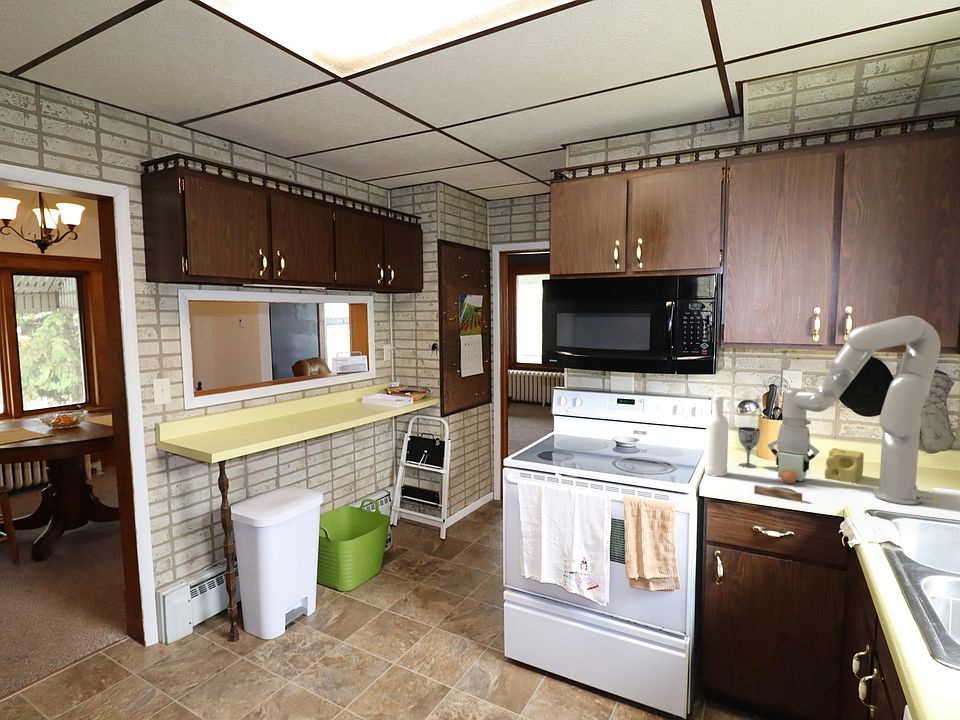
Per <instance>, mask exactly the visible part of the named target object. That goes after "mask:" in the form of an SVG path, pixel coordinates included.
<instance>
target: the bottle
mask: <svg viewBox="0 0 960 720" xmlns="http://www.w3.org/2000/svg"><path fill="white" fill-rule="evenodd" d="M705 427H706V428H705V452H704V453H705V458H704V459H705V460H704V473H705V474H706V475H708V474H710V475H709V476H711V475H715V476H714V477H718V476H721V477H725V475H726V476H727V475H728V450H729V449H728V447H729V422H728V419H727V417H726V416H725V415H724V396H723V395H719V394H718V395H713V396H712V414H711V415H709V416H708V417H707V419H706V425H705Z"/></svg>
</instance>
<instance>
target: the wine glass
mask: <svg viewBox="0 0 960 720" xmlns="http://www.w3.org/2000/svg"><path fill="white" fill-rule="evenodd" d="M737 431H738V432H737V433H738V434H737V436H738V441H739V443H740V445H741V446H742V447H743V448H744V449H745V452H746V462H741V464H740V463H738V464H739V465H738V467H741V466H742V467H741V468H744V467H746V468H745V469H757V468H758V467H757V466H758V465H757V464H755V463H751V462H750V457H751V453H752V450H753V449H755V447H757V445H758V444H759V442H760V438H761V429H760V428H757V427H751V426H741V427H738V430H737ZM756 465H757V466H756ZM756 467H757V468H756Z"/></svg>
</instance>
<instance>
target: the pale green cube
mask: <svg viewBox="0 0 960 720" xmlns="http://www.w3.org/2000/svg"><path fill="white" fill-rule="evenodd" d="M804 461H805V459H804V455H802V454H794V453H787V452H780V453H779V462H778V465H777V477H778V478H781V473H782V472H783V471H784V470H792V471H794V472H795V474H796V476H797V479H796V481H801V482H802V481H803V480H804V479H805V477H807V471H806V472H803V468H804Z"/></svg>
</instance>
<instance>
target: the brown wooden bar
mask: <svg viewBox="0 0 960 720" xmlns="http://www.w3.org/2000/svg"><path fill="white" fill-rule="evenodd" d="M753 493H754V494H756V495H761V496H766V497H771V498H777V499H781V500H782V499H783V500H787V501H793V502H798V503H802V502H803V493H802V492H797V491H796V492H792V491H787V490H781V489H775V488H769V486H763V485H757V484H754V492H753Z"/></svg>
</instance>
